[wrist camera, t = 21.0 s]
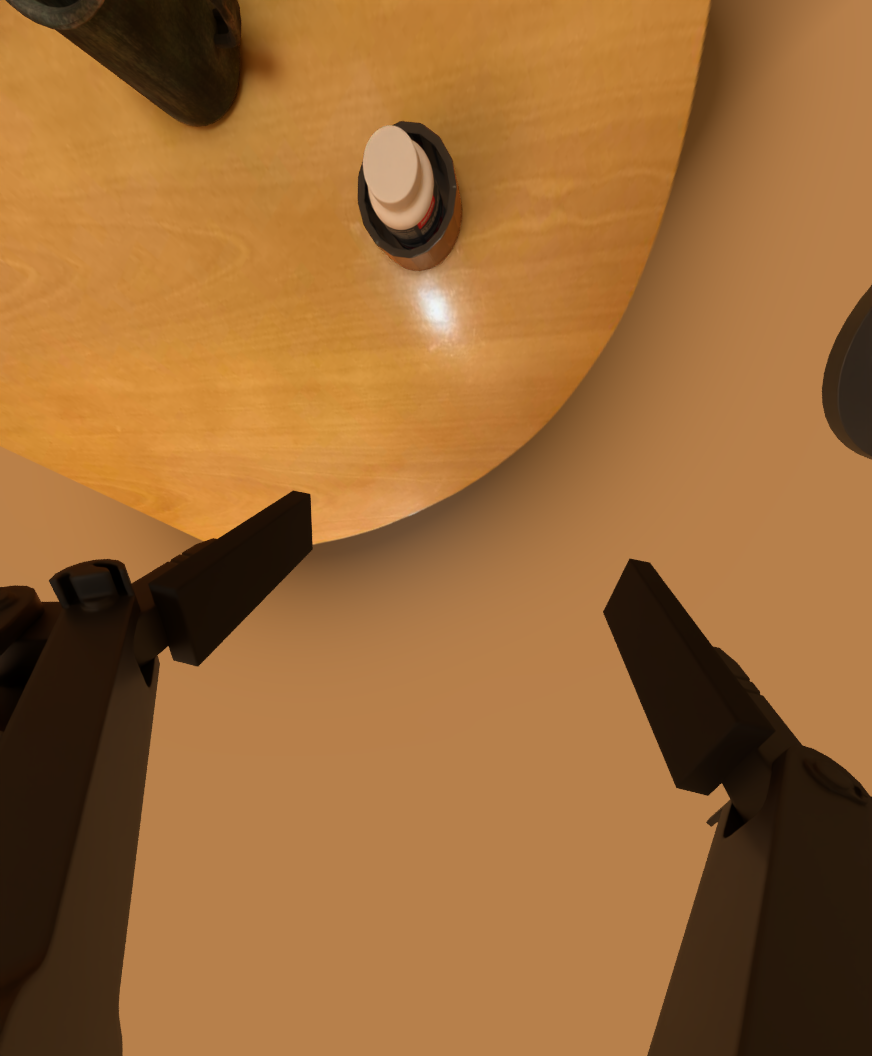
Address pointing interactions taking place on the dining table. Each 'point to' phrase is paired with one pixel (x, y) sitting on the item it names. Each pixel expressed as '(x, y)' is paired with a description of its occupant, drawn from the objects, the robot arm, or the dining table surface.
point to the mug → (157, 47)
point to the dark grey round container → (449, 191)
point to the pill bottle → (402, 186)
